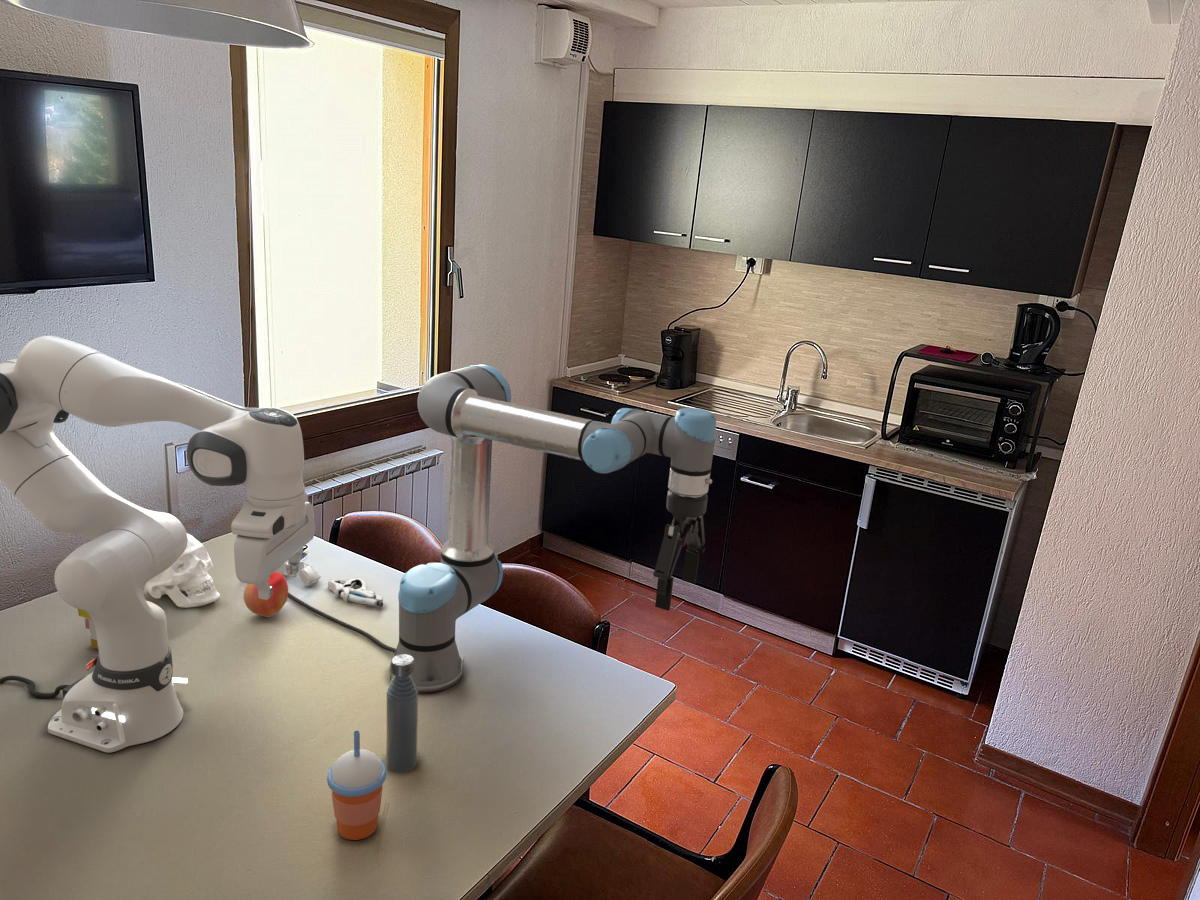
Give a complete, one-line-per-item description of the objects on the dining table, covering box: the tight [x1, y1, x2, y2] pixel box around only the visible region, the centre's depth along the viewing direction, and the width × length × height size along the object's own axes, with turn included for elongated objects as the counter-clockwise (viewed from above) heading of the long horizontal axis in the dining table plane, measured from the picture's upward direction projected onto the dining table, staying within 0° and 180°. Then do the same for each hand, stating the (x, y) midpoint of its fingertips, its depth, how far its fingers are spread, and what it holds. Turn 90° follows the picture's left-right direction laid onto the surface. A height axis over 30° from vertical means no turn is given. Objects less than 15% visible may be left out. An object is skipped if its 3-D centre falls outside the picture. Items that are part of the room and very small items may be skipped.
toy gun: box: [327, 578, 384, 608], centre depth 212 cm, size 18×2×10 cm
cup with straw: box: [326, 729, 388, 841], centre depth 136 cm, size 9×9×18 cm
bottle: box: [385, 675, 419, 773], centre depth 152 cm, size 5×5×21 cm
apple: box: [243, 572, 289, 618], centre depth 199 cm, size 10×10×10 cm
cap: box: [390, 654, 414, 677], centre depth 149 cm, size 4×4×2 cm
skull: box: [144, 533, 221, 609], centre depth 204 cm, size 13×22×16 cm, turn 73°
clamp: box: [275, 560, 322, 587], centre depth 219 cm, size 20×4×7 cm, turn 62°
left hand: (279, 584), depth 143 cm, fingers open, 8 cm apart
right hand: (676, 594), depth 165 cm, fingers open, 13 cm apart
